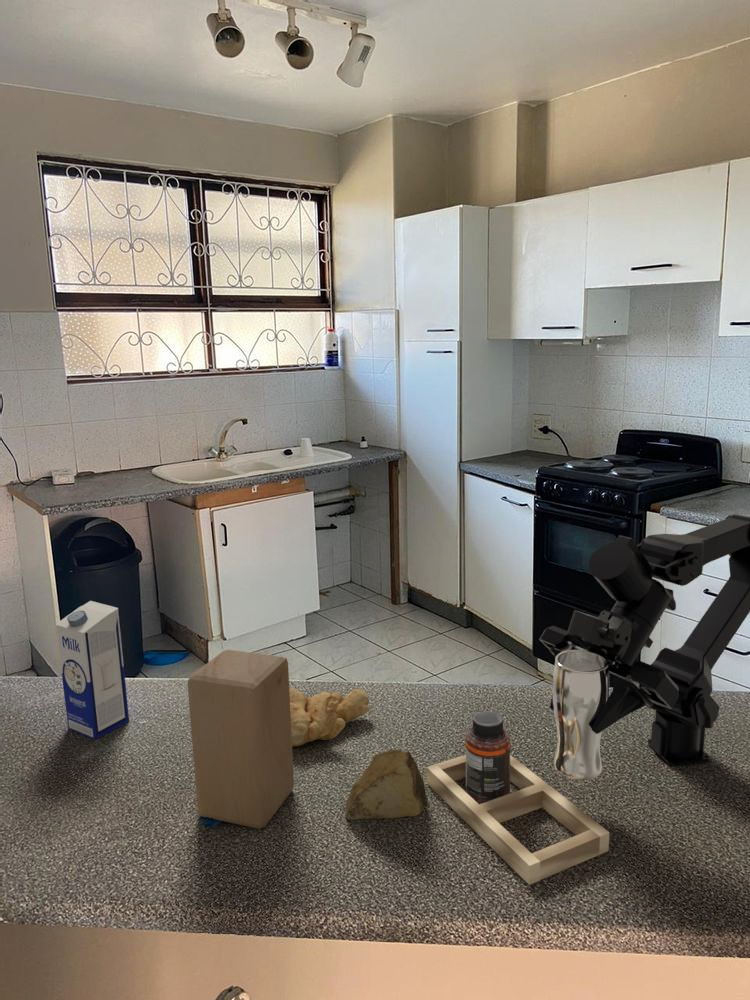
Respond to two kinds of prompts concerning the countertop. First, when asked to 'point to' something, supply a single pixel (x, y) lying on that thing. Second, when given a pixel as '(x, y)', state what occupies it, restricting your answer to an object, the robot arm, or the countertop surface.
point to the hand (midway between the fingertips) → (572, 720)
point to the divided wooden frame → (512, 805)
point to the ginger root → (323, 714)
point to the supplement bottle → (487, 758)
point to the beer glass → (579, 711)
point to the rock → (388, 788)
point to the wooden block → (241, 737)
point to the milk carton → (93, 669)
